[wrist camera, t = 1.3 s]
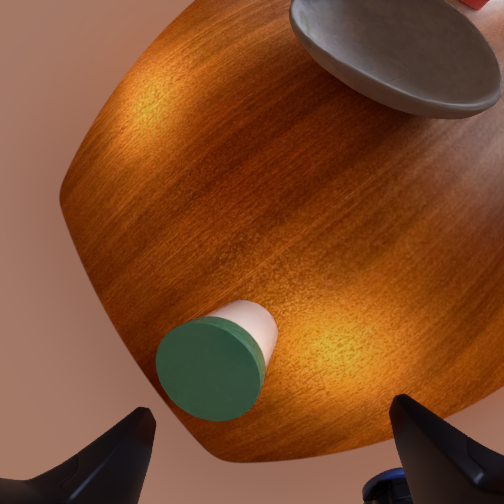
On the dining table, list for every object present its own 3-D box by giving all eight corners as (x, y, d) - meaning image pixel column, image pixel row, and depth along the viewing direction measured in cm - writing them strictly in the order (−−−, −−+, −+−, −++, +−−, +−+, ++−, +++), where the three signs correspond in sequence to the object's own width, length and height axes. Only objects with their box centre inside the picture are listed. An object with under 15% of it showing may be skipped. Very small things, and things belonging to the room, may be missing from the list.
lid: (261, 416, 16) (255, 431, 14) (170, 395, 17) (158, 406, 15) (271, 323, 16) (265, 332, 14) (169, 308, 17) (154, 313, 15)
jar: (274, 370, 23) (254, 423, 15) (209, 359, 25) (163, 401, 16) (281, 304, 23) (263, 332, 15) (212, 295, 25) (161, 315, 16)
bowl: (341, 168, 22) (353, 130, 15) (271, 25, 24) (258, -21, 16) (497, 135, 18) (534, 108, 10) (413, 11, 20) (423, -27, 12)
